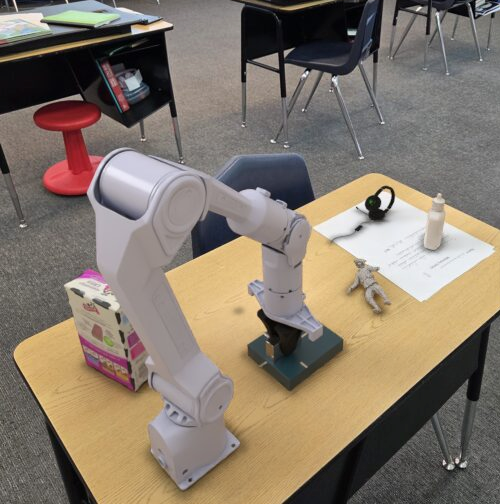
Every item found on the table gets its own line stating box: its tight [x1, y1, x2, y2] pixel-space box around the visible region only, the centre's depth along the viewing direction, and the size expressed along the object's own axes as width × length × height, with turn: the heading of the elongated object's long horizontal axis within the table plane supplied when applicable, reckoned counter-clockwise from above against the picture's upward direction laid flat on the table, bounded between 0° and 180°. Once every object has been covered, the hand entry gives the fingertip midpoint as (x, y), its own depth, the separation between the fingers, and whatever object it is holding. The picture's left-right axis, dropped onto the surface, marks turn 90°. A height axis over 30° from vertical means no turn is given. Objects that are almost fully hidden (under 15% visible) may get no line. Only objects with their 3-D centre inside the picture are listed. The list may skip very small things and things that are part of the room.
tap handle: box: [266, 333, 302, 362], centre depth 85 cm, size 6×2×4 cm, turn 134°
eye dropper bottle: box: [423, 192, 446, 251], centre depth 112 cm, size 4×6×12 cm
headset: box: [330, 185, 396, 243], centre depth 121 cm, size 7×7×20 cm
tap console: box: [246, 320, 344, 392], centre depth 87 cm, size 14×10×3 cm
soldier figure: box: [346, 258, 392, 314], centre depth 100 cm, size 8×5×12 cm
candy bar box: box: [63, 268, 149, 393], centre depth 82 cm, size 11×5×16 cm, turn 59°
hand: (284, 347), depth 86 cm, fingers closed on tap handle, 2 cm apart
